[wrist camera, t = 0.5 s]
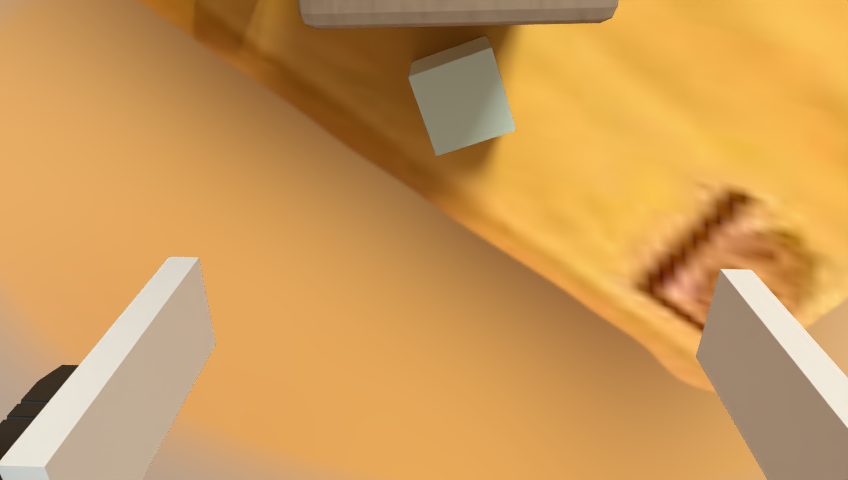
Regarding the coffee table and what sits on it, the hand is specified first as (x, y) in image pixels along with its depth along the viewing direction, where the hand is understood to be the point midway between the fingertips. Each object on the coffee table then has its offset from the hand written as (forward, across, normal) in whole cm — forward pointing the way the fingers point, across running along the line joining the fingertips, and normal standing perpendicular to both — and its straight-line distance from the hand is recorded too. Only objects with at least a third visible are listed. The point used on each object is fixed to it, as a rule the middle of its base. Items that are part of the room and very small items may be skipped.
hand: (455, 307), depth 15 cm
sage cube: (+27, +1, -1) cm, 27 cm away
